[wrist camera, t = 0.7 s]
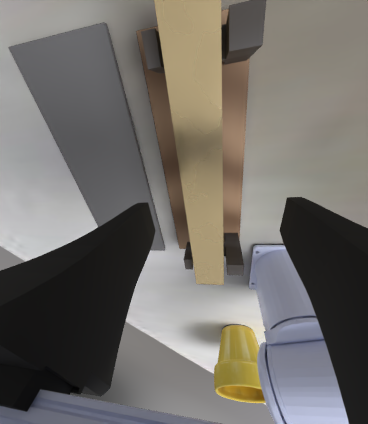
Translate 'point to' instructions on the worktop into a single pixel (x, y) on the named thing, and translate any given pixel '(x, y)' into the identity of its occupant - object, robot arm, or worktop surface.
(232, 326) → the plant pot
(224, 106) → the hook rack
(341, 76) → the worktop surface
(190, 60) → the brass rail
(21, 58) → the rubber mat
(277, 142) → the worktop surface
